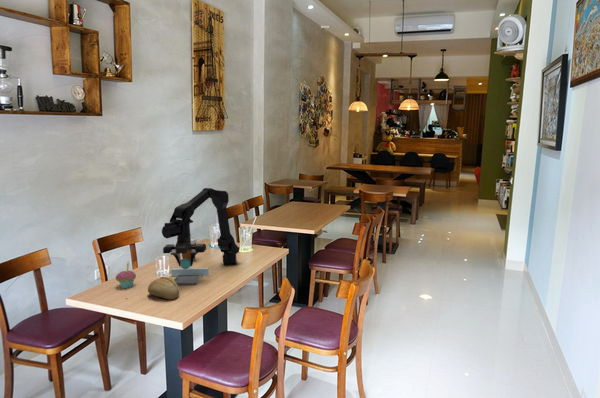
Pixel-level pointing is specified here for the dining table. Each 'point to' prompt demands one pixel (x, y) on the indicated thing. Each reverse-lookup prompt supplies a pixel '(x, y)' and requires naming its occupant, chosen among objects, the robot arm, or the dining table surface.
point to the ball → (185, 263)
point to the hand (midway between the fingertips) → (185, 266)
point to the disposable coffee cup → (188, 254)
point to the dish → (187, 279)
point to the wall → (190, 271)
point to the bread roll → (164, 288)
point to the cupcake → (126, 278)
